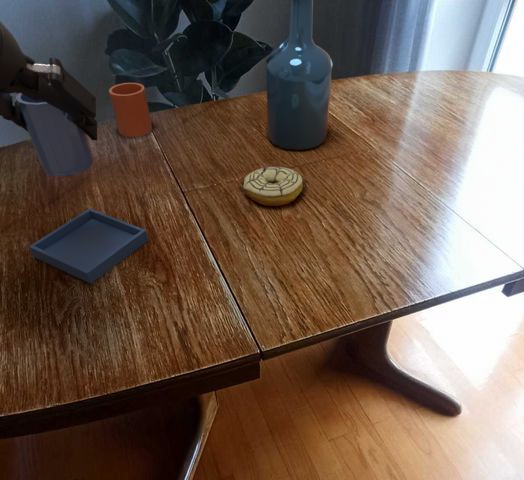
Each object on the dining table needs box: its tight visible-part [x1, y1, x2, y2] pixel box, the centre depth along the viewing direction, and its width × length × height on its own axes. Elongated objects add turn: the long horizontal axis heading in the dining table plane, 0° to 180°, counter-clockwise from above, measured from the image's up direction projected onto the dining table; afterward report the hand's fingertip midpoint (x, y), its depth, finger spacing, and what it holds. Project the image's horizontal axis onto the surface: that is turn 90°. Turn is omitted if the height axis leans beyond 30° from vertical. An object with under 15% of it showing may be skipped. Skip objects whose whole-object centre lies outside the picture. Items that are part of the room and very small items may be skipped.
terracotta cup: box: [108, 82, 153, 143], centre depth 102 cm, size 7×7×10 cm
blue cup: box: [15, 93, 94, 177], centre depth 67 cm, size 7×7×10 cm
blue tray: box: [28, 207, 149, 285], centre depth 76 cm, size 13×13×2 cm
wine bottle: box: [265, 0, 334, 151], centre depth 92 cm, size 14×13×30 cm
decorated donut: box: [242, 166, 303, 207], centre depth 86 cm, size 10×11×4 cm
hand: (68, 131), depth 70 cm, fingers closed on blue cup, 7 cm apart
